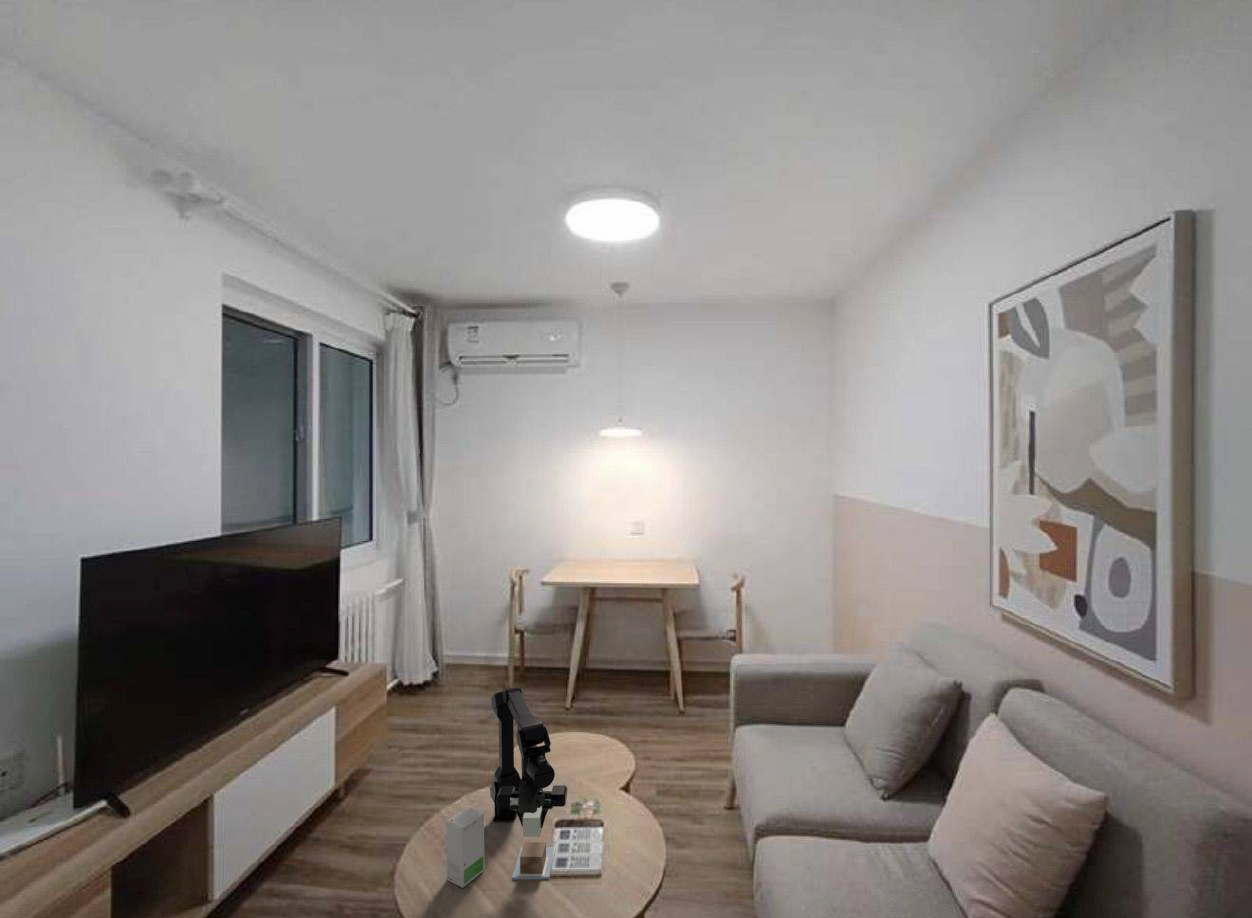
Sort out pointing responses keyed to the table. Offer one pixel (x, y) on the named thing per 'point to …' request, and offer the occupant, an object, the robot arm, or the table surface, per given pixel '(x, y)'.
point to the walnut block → (533, 858)
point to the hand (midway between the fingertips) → (532, 827)
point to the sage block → (532, 824)
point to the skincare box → (465, 846)
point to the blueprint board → (535, 876)
